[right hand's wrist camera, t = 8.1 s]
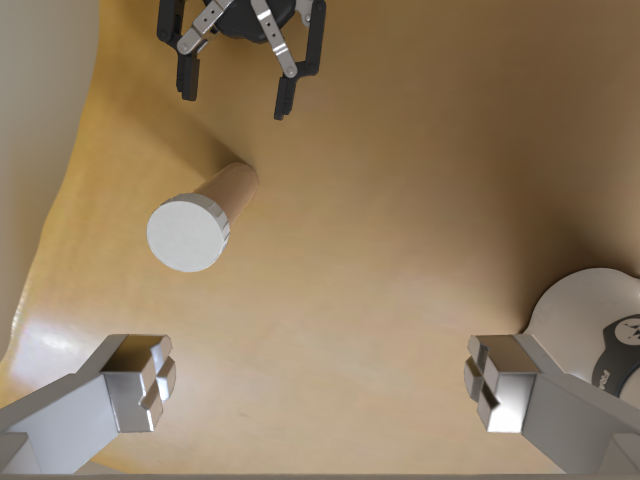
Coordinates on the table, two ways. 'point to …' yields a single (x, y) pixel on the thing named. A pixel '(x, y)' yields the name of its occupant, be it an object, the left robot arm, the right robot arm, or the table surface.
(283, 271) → the table surface
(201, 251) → the lid
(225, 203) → the tan cylinder
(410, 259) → the table surface
